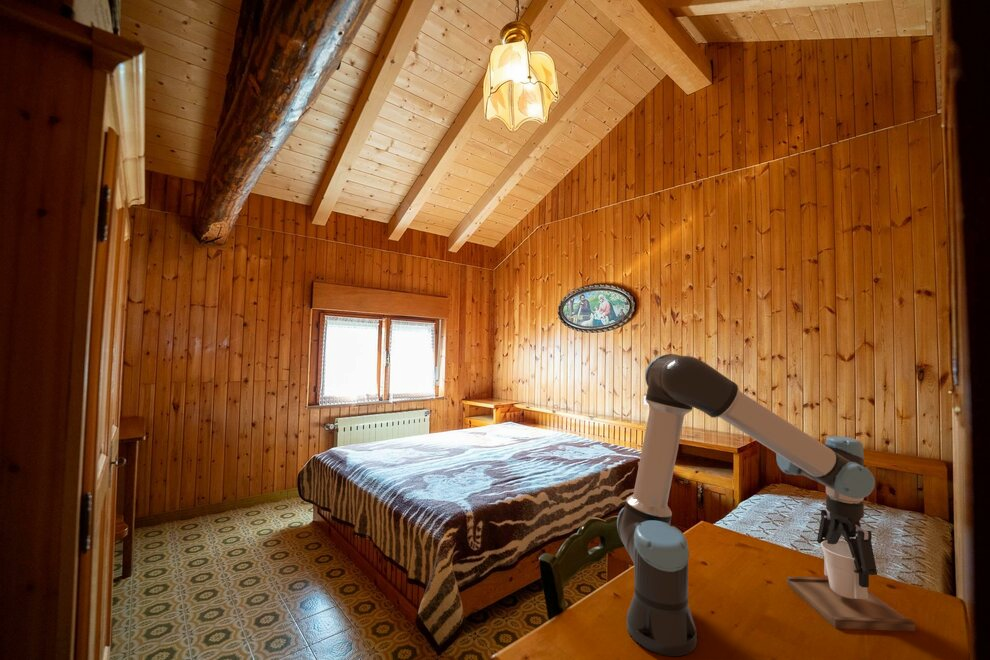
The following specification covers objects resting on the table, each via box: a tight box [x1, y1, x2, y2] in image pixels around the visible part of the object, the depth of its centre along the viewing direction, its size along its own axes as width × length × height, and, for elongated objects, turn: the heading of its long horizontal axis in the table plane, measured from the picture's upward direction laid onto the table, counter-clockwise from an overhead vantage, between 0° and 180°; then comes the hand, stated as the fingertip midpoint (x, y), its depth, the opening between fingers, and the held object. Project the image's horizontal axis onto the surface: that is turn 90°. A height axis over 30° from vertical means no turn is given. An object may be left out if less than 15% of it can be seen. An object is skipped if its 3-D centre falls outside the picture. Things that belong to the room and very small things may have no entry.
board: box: [786, 576, 916, 632], centre depth 109 cm, size 18×18×2 cm
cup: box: [820, 540, 862, 599], centre depth 109 cm, size 10×10×11 cm
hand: (844, 586), depth 109 cm, fingers closed on cup, 9 cm apart
